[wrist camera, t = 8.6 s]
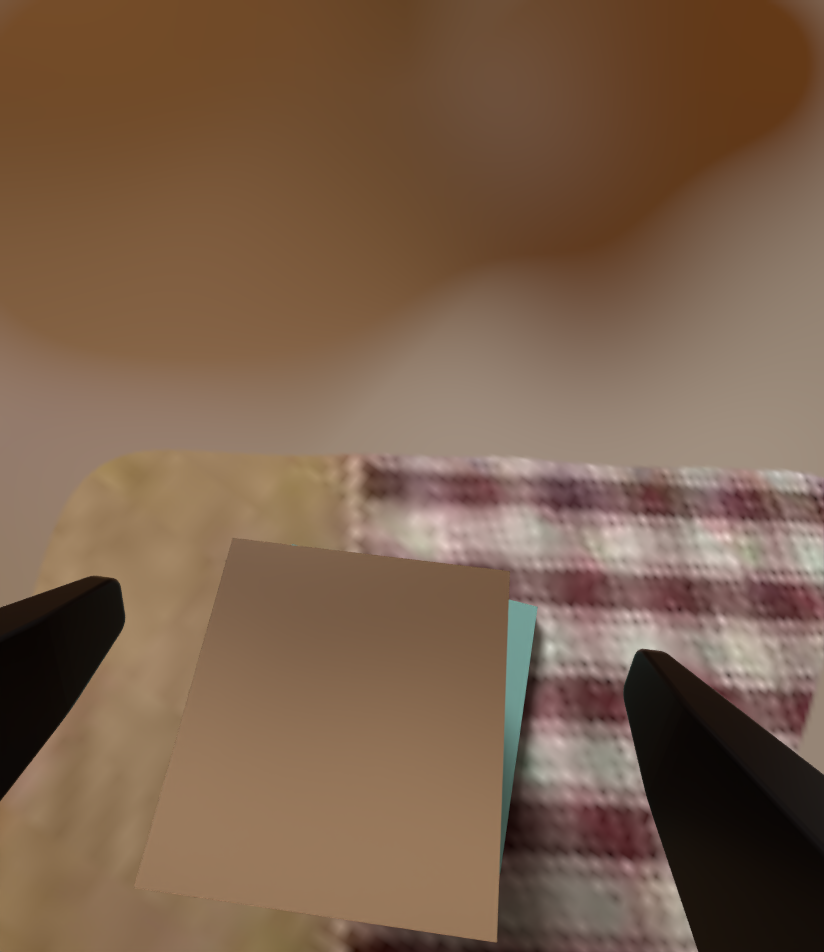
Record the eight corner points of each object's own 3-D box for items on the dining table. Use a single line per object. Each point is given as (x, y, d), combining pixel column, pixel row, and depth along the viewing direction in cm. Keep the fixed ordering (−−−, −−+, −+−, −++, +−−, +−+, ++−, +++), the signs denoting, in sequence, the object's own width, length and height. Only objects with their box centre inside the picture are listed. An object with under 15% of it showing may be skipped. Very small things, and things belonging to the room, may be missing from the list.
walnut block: (438, 770, 14) (497, 942, 5) (309, 752, 14) (134, 886, 5) (449, 633, 16) (509, 571, 7) (333, 618, 16) (232, 537, 7)
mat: (495, 864, 14) (500, 874, 13) (215, 777, 15) (205, 783, 14) (531, 609, 17) (537, 606, 16) (297, 549, 18) (292, 544, 17)
